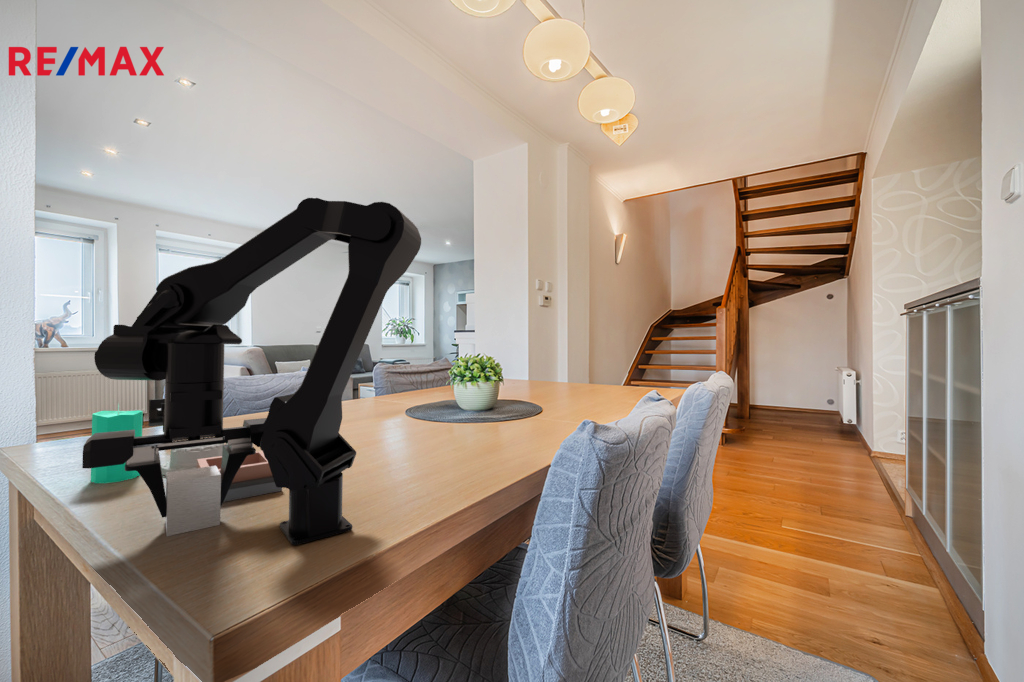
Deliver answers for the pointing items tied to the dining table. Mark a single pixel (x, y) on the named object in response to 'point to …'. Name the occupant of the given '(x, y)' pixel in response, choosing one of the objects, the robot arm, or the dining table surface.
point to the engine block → (192, 499)
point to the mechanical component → (190, 457)
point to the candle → (111, 423)
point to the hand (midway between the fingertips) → (192, 510)
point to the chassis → (246, 476)
